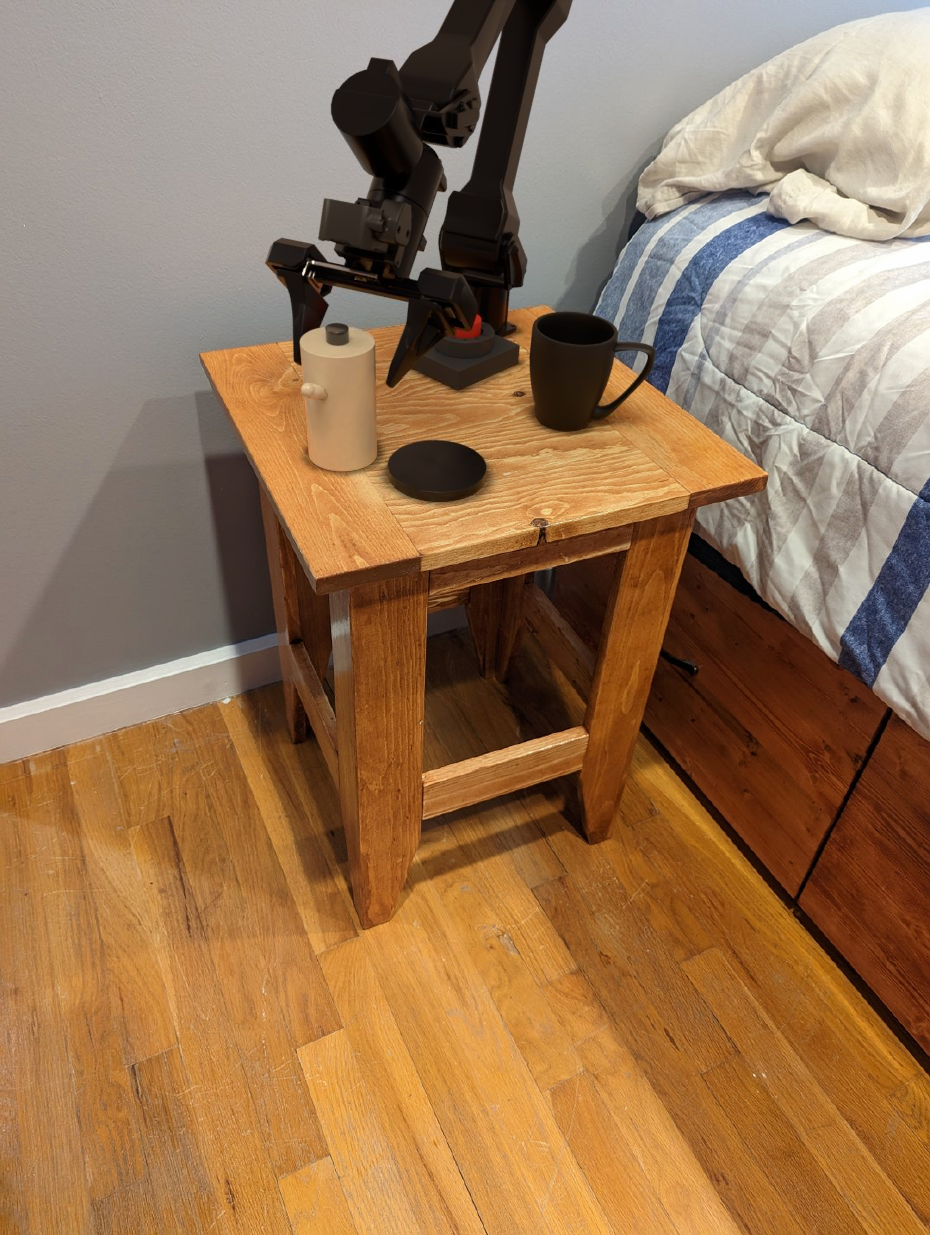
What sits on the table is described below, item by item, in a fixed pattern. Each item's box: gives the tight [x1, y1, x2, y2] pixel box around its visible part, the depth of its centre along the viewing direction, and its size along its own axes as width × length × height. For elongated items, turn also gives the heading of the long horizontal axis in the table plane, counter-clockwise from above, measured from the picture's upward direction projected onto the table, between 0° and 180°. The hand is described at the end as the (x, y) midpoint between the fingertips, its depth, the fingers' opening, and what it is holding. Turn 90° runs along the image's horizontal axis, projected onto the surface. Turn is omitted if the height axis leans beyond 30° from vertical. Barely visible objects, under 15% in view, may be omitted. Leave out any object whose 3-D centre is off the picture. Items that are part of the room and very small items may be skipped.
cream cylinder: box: [300, 322, 378, 472], centre depth 76 cm, size 9×6×12 cm
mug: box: [528, 310, 657, 432], centre depth 85 cm, size 8×12×10 cm
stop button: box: [455, 315, 481, 338], centre depth 94 cm, size 4×4×2 cm
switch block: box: [411, 321, 521, 391], centre depth 95 cm, size 10×8×4 cm
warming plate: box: [387, 439, 488, 503], centre depth 79 cm, size 9×9×1 cm
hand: (342, 374), depth 76 cm, fingers open, 9 cm apart
